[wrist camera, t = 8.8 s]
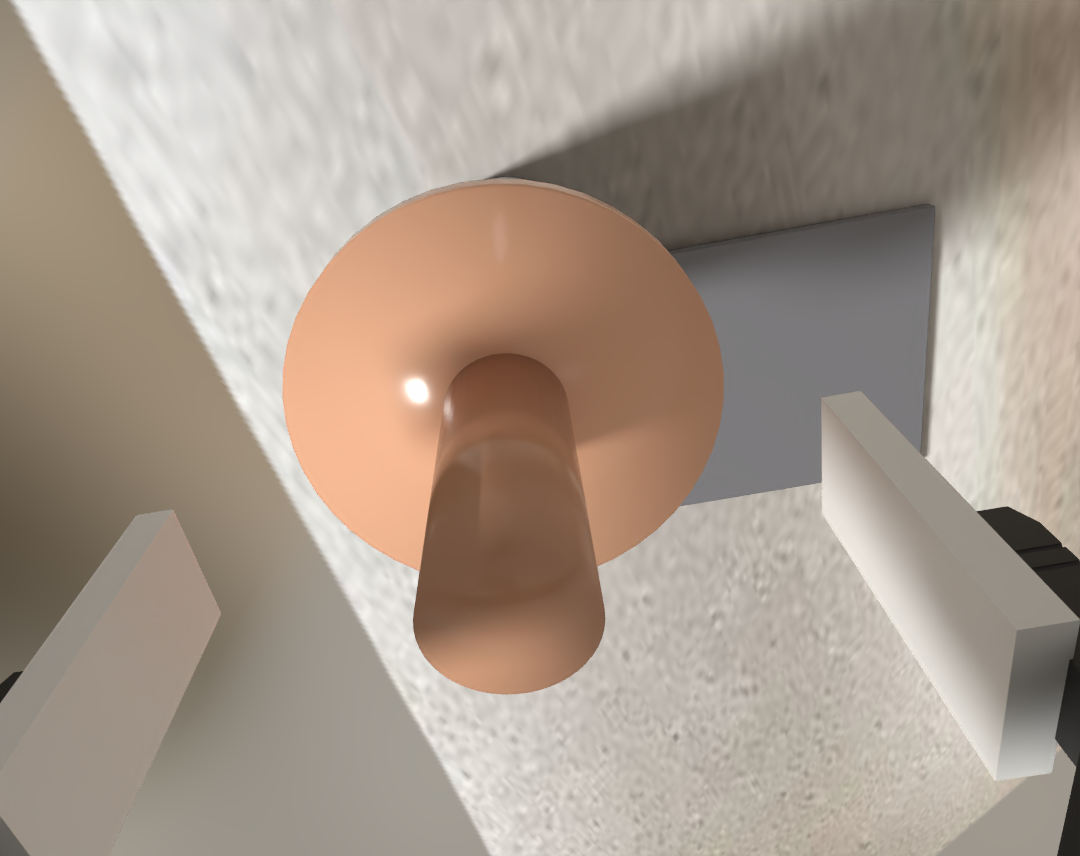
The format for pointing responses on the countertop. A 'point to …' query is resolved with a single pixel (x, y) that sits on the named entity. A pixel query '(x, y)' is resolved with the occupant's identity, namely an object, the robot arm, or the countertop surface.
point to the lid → (503, 412)
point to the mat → (811, 339)
